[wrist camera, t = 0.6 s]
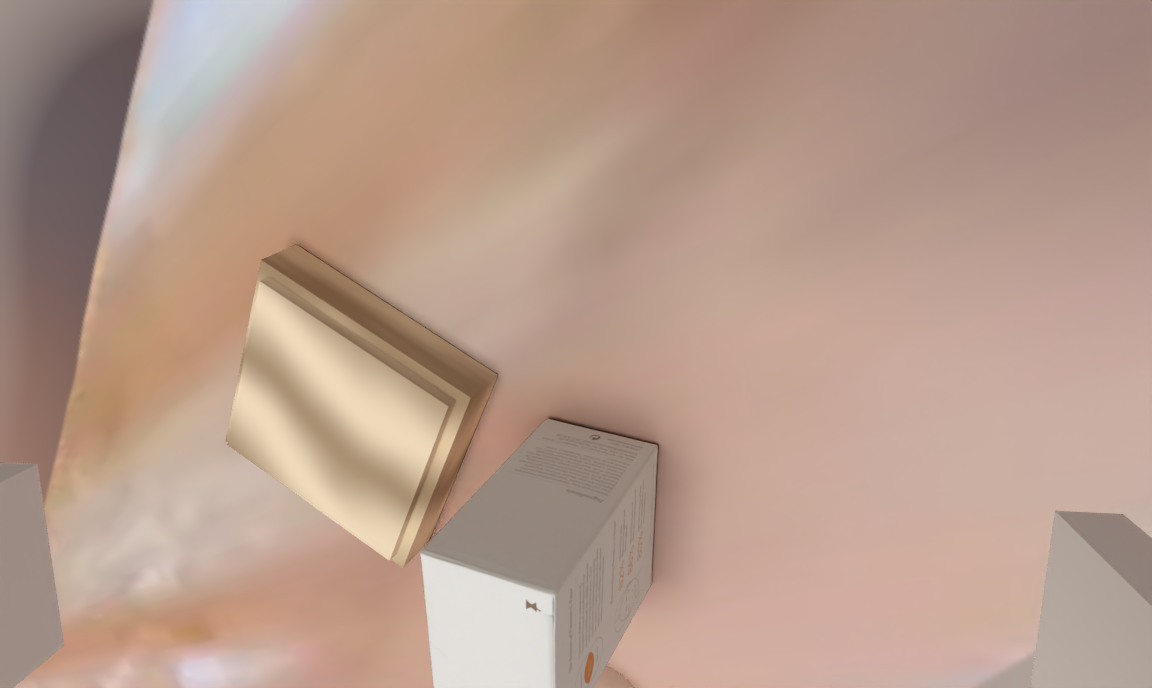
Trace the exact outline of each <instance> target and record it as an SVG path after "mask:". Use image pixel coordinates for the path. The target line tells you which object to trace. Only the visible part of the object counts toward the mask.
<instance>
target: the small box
mask: <svg viewBox="0 0 1152 688" xmlns="http://www.w3.org/2000/svg"><path fill="white" fill-rule="evenodd" d="M657 454H658V446H657V445H655V444H651V443H647V442H642V441H638V440H634V439H630V438H626V437H622V436H618V435H614V434H609V433H605V432H601V431H597V430H592V429H588V428H584V427H580V426H576V425H571V424H567V423H563V422H559V421H555V420H551V419H546V420H544V421H543V422H542V423H541V425H540V426H539V427H538V428H537V429H536V430H535V431H534V432H533V433H532V434H531V435H530V436H529V437H528V438H527V439H526V440H525V441H524V442H523V443H522V444H521V445H520V447H519V448H518V449H517V450H516V451H515V452H514V453H513V454H512V455H511V456H510V457H509V458H508V459H507V460H506V461H505V462H504V464H503V465H502V466H501V467H500V468H499V469H498V470H497V471H496V472H495V473H494V474H493V475H492V476H491V477H490V478H489V479H488V480H487V481H486V482H485V483H484V485H483V486H482V487H481V488H480V489H479V490H478V491H477V492H476V493H475V494H474V495H473V496H472V497H471V498H470V499H469V500H468V501H467V503H466V504H465V505H464V506H463V507H462V508H461V509H460V510H459V511H458V512H457V513H456V514H455V515H454V516H453V517H452V518H451V519H450V520H449V522H448V523H447V524H446V525H445V526H444V527H443V528H442V529H441V530H440V531H439V532H438V533H437V534H436V535H435V536H434V537H433V538H432V539H431V541H430V542H429V543H428V544H427V545H426V546H425V547H424V548H423V549H422V550H421V551H420V559H421V568H422V578H423V589H424V597H425V608H426V618H427V627H428V638H429V648H430V658H431V669H432V679H433V688H594V687H595V685H596V683H597V681H598V679H599V678H600V676H601V674H602V672H603V670H604V669H605V667H606V665H607V663H608V661H609V660H610V658H611V656H612V654H613V652H614V651H615V649H616V647H617V645H618V643H619V642H620V640H621V638H622V636H623V634H624V633H625V631H626V629H627V627H628V625H629V624H630V622H631V620H632V618H633V617H634V615H635V613H636V611H637V610H638V608H639V606H640V604H641V602H642V601H643V599H644V597H645V595H646V593H647V591H648V590H649V588H650V586H651V583H652V581H651V578H652V553H653V533H654V513H655V493H656V471H657Z"/></svg>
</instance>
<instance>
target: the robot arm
mask: <svg viewBox="0 0 1152 688" xmlns="http://www.w3.org/2000/svg"><path fill="white" fill-rule="evenodd" d="M63 646H64V641H63V634H62V627H61V620H60V614H59V607H58V600H57V593H56V587H55V580H54V573H53V566H52V560H51V553H50V546H49V539H48V533H47V526H46V519H45V512H44V506H43V499H42V492H41V485H40V479H39V472H38V465H37V464H26V463H5V462H0V688H13V687H14V686H16V685H17V684H18V683H19V682H21V681H22V680H23V679H24V678H25V677H27V676H28V675H29V674H30V673H31V672H33V671H34V670H35V669H36V668H37V667H39V666H40V665H41V664H42V663H43V662H45V661H46V660H47V659H48V658H50V657H51V656H52V655H53V654H54V653H56V652H57V651H58V650H59V649H60V648H62V647H63ZM1031 688H1152V538H1151V537H1149V536H1148V535H1147V534H1146V533H1145V532H1144V531H1142V530H1141V529H1140V528H1139V527H1138V526H1136V525H1135V524H1134V523H1133V522H1132V521H1130V520H1129V519H1128V518H1127V517H1126V516H1125V515H1123V514H1109V513H1088V512H1066V511H1055V514H1054V521H1053V528H1052V535H1051V543H1050V550H1049V557H1048V564H1047V572H1046V579H1045V586H1044V593H1043V601H1042V608H1041V615H1040V622H1039V629H1038V637H1037V644H1036V651H1035V658H1034V666H1033V673H1032V681H1031Z"/></svg>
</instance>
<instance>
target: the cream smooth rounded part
mask: <svg viewBox="0 0 1152 688" xmlns="http://www.w3.org/2000/svg"><path fill="white" fill-rule="evenodd" d="M594 688H634V687H633V686H632V685H631V683H630V682H628V681H627V680H626V679H625V678H624V677H623V676H621V675H620V674H619V673H617V672H616V671H614V670H613V669H611V668H609V667H607V666H606V667H605V669H604V670H603V672H602V674H601V676H600V678H599V679H598V681H597V683H596V685H595V687H594Z"/></svg>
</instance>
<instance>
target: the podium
mask: <svg viewBox="0 0 1152 688" xmlns="http://www.w3.org/2000/svg"><path fill="white" fill-rule="evenodd" d="M497 376H498V375H497V374H496V373H494V372H492V371H491V370H489V369H488V368H486V367H485V366H483V365H482V364H480V363H479V362H477V361H476V360H474V359H472V358H471V357H469V356H468V355H466V354H465V353H463V352H462V351H460V350H459V349H457V348H455V347H454V346H452V345H451V344H449V343H448V342H446V341H445V340H443V339H442V338H440V337H438V336H437V335H435V334H434V333H432V332H431V331H429V330H428V329H426V328H425V327H423V326H421V325H420V324H418V323H417V322H415V321H414V320H412V319H411V318H409V317H408V316H406V315H404V314H403V313H401V312H400V311H398V310H397V309H395V308H394V307H392V306H391V305H389V304H388V303H386V302H384V301H383V300H381V299H380V298H378V297H377V296H375V295H374V294H372V293H371V292H369V291H367V290H366V289H364V288H363V287H361V286H360V285H358V284H357V283H355V282H354V281H352V280H350V279H349V278H347V277H346V276H344V275H343V274H341V273H340V272H338V271H337V270H335V269H333V268H332V267H330V266H329V265H327V264H326V263H324V262H323V261H321V260H320V259H318V258H316V257H315V256H313V255H312V254H310V253H309V252H307V251H306V250H304V249H303V248H301V247H300V246H298V245H295V246H292V247H290V248H288V249H285V250H283V251H281V252H278V253H276V254H274V255H271V256H269V257H267V258H264V259H262V260H261V263H260V268H259V274H258V279H257V284H256V289H255V294H254V299H253V304H252V309H251V314H250V319H249V325H248V330H247V335H246V340H245V345H244V350H243V355H242V360H241V365H240V370H239V375H238V381H237V386H236V391H235V396H234V401H233V406H232V411H231V416H230V421H229V426H228V432H227V437H226V442H228V443H227V445H229V446H230V447H231V448H233V449H234V450H236V451H237V452H238V453H240V454H241V455H243V456H244V457H245V458H247V459H248V460H250V461H251V462H252V463H254V464H255V465H257V466H258V467H259V468H261V469H262V470H264V471H265V472H266V473H268V474H269V475H270V476H272V477H273V478H275V479H276V480H277V481H279V482H280V483H282V484H283V485H284V486H286V487H287V488H289V489H290V490H291V491H293V492H294V493H296V494H297V495H298V496H300V497H301V498H303V499H304V500H305V501H307V502H308V503H310V504H311V505H312V506H314V507H315V508H317V509H318V510H319V511H321V512H322V513H324V514H325V515H326V516H328V517H329V518H331V519H332V520H333V521H335V522H336V523H337V524H339V525H340V526H342V527H343V528H344V529H346V530H347V531H349V532H350V533H351V534H353V535H354V536H356V537H357V538H358V539H360V540H361V541H363V542H364V543H365V544H367V545H368V546H370V547H371V548H372V549H374V550H375V551H377V552H378V553H379V554H381V555H382V556H384V557H385V558H386V559H388V560H389V561H390V560H393V561H394V562H396V563H397V564H398V565H400V566H401V567H404V566H405V565H406V564H407V563H408V562H409V561H410V560H411V559H412V558H413V557H414V556H415V555H416V554H417V553H418V552H419V551H420V550H421V549H422V548H423V547H424V546H425V545H426V544H427V543H428V542H429V540H430V538H431V536H432V533H433V531H434V528H435V526H436V524H437V521H438V519H439V516H440V514H441V511H442V509H443V507H444V504H445V502H446V499H447V497H448V495H449V492H450V490H451V487H452V485H453V483H454V480H455V478H456V475H457V473H458V470H459V468H460V466H461V463H462V461H463V458H464V456H465V454H466V451H467V449H468V446H469V444H470V442H471V439H472V437H473V434H474V432H475V429H476V427H477V425H478V422H479V420H480V417H481V415H482V413H483V410H484V408H485V405H486V403H487V401H488V398H489V396H490V393H491V391H492V388H493V386H494V384H495V381H496V379H497Z"/></svg>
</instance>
